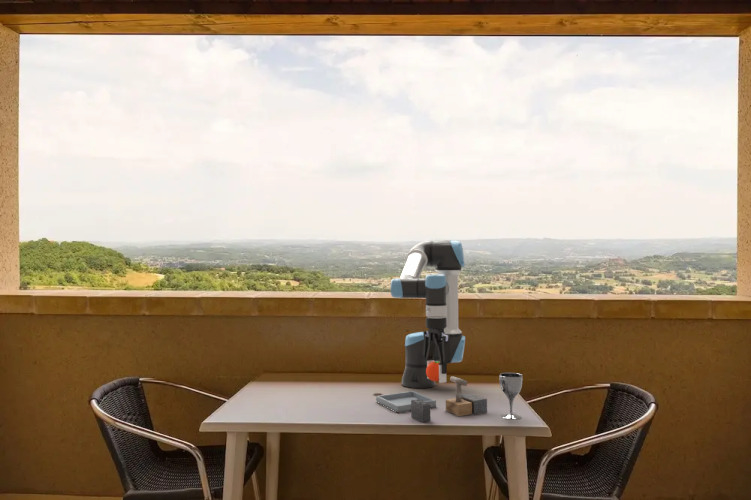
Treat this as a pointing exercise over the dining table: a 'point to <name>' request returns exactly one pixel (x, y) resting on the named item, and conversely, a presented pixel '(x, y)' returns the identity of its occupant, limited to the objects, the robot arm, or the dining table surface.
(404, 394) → the tray
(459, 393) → the slider
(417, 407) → the frame
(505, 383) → the wine glass
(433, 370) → the clementine
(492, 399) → the dining table surface
